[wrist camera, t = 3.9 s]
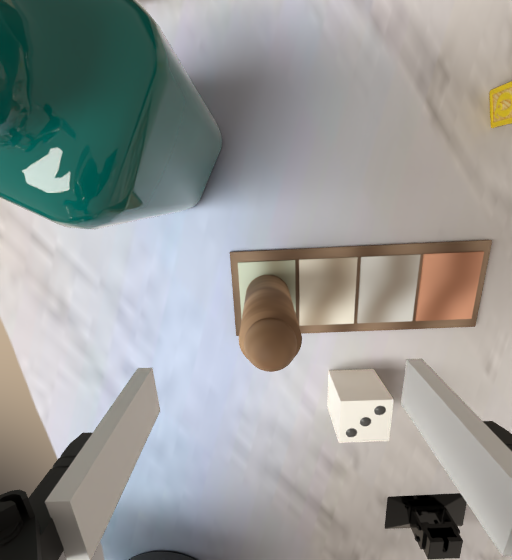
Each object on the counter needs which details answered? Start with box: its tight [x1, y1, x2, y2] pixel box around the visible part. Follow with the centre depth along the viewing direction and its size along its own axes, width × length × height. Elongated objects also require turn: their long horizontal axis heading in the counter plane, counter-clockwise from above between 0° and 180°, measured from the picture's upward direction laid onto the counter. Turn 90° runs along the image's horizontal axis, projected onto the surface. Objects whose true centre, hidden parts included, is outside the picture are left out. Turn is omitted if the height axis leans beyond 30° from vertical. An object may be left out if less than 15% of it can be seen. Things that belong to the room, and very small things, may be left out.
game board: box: [230, 240, 492, 336], centre depth 28 cm, size 25×9×1 cm, turn 93°
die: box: [327, 369, 394, 443], centre depth 30 cm, size 5×5×5 cm
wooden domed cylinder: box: [239, 275, 302, 372], centre depth 23 cm, size 4×4×11 cm
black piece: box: [385, 493, 467, 559], centre depth 36 cm, size 13×8×5 cm, turn 94°
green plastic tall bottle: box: [0, 0, 222, 229], centre depth 14 cm, size 10×8×22 cm
